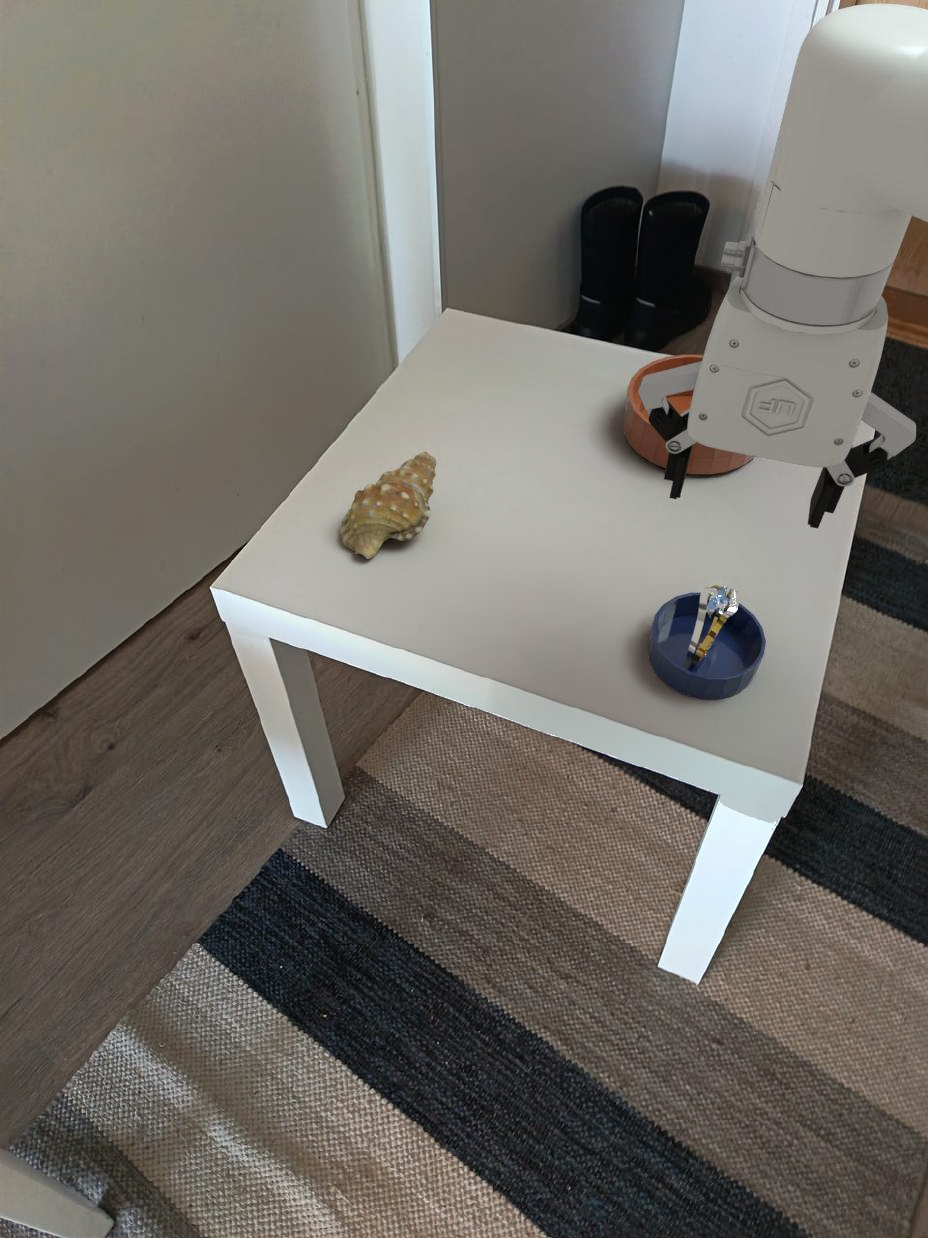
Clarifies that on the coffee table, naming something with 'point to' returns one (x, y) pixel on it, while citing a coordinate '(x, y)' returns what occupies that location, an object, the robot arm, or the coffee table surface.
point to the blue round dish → (727, 658)
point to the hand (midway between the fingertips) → (744, 500)
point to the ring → (724, 610)
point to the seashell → (390, 507)
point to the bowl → (649, 439)
